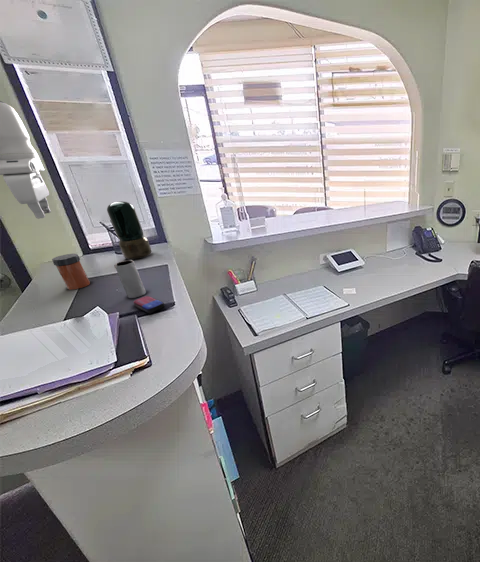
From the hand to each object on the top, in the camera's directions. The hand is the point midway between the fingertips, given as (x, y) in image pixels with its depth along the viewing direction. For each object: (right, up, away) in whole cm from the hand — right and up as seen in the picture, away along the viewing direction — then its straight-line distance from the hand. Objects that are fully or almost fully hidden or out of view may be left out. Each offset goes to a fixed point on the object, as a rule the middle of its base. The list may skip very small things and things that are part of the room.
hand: (44, 215), depth 91 cm
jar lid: (+1, -12, +6) cm, 13 cm away
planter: (+26, -24, +2) cm, 35 cm away
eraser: (+36, -27, -6) cm, 45 cm away
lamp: (+1, -9, +35) cm, 36 cm away
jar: (+1, -21, +10) cm, 23 cm away
